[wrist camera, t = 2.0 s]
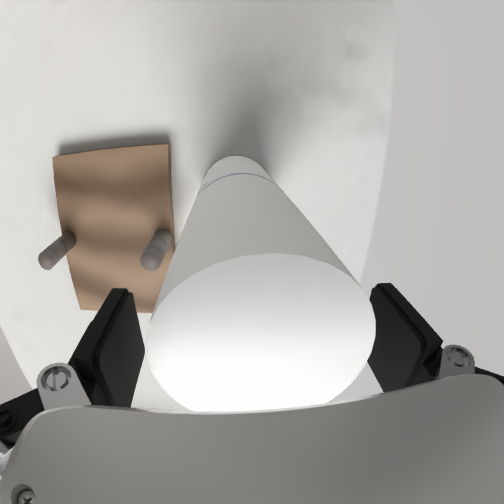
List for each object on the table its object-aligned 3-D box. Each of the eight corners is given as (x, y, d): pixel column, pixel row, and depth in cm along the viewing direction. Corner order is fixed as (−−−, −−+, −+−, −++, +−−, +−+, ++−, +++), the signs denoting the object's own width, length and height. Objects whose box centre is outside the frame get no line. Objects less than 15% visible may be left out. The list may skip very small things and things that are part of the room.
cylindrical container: (280, 198, 32) (394, 367, 9) (225, 231, 33) (231, 440, 10) (247, 143, 29) (323, 198, 7) (190, 178, 30) (98, 330, 8)
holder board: (58, 155, 27) (22, 165, 21) (170, 143, 29) (153, 148, 22) (84, 303, 35) (63, 336, 29) (180, 306, 37) (172, 345, 30)
